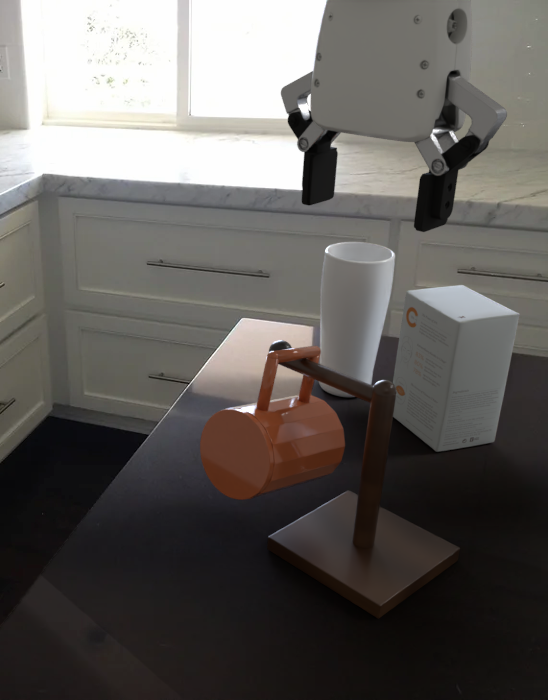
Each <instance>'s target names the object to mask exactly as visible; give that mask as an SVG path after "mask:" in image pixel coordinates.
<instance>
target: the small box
mask: <svg viewBox="0 0 548 700" xmlns="http://www.w3.org/2000/svg"><path fill="white" fill-rule="evenodd" d="M519 320H520V313H519V312H516V311H515V310H513V309H510V308H508V307H506V306H505V305H503V304H501V303H498V302H497V301H494V300H493V299H491V298H489V297H486V296H485V295H483V294H481V293H480V292H477V291H475V290H473V289H471V288H469V287H468V286H466V285H463V284H458V285H449V286H439V287H429V288H421V289H409V290H406V291H405V296H404V303H403V309H402V318H401V323H400V329H399V330H400V331H399V339H398V343H397V351H396V357H395V364H394V371H393V378H392V383H393V384H394V385H395V387H396V399H395V406H394V413H393V418H394V419H395V420H396V421H398V422H399V423H401V425H403V426H404V427H405V428H406V429H408V430H409V431H410V432H411V433H413V434H414V435H415V436H416V437H417V438H418V439H420V440H421V441H423V442H424V443H425V444H426V445H427V446H428V447H430V448H431V449H432V450H433V451H434V452H437V453H439V452H446V451H450V450H451V451H452V450H457V449H463V448H470V447H476V446H482V445H486V444H492V443H495V441H496V435H497V431H498V426H499V420H500V417H501V412H502V411H501V410H502V405H503V402H504V397H505V396H504V395H505V391H506V385H507V381H508V375H509V371H510V367H511V366H510V365H511V360H512V355H513V350H514V346H515V340H516V336H517V331H518V325H519Z"/></svg>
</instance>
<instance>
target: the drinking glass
mask: <svg viewBox="0 0 548 700" xmlns="http://www.w3.org/2000/svg"><path fill="white" fill-rule="evenodd" d="M323 255H324V257H323V263H322V270H321V280H320V294H319V296H320V298H319V300H320V301H319V302H320V303H319V304H320V305H319V307H320V308H319V310H320V311H319V327H320V328H319V348H320V349H321V354H320V358H319V364H321V365H323V366H326V367H328V368H331V369H333V370H336V371H338V372H341V373H343V374H346V375H348V376H350V377H353V378H355V379H358V380H360V381H363V382H365V383H368V384H370V385H372V383H373V376H374V375H373V374H374V370H375V364H376V362H377V361H376V360H377V355H378V351H379V347H380V342H381V338H382V334H383V329H384V326H385V322H386V316H387V313H388V308H389V304H390V301H391V295H392V290H393V283H394V275H395V263H396V253H395V252H394V250H392V249H391V248H388V247H386V246H384V245H381V244H376V243H370V242H365V241H364V242H363V241H343V242H337V243H336V242H335V243H333V244H330V245H328V246H327V247H326V248H325V250H324V254H323ZM318 384H319V385H318V386H319V387H320V388H321V389H322V390H323V391H325V393H328V394H330V395H332V396H335V397H340V398H356V397H355V396H353V395H350V394H348V393H346V392H343V391H341V390H338V389H336V388H334V387H331V386H329V385H327V384H324V383H322V382H319V381H318Z"/></svg>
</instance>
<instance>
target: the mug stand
mask: <svg viewBox="0 0 548 700" xmlns="http://www.w3.org/2000/svg"><path fill="white" fill-rule="evenodd" d="M285 349H293V347H292V345H291V344H290V343H289V342H288V341H287V340H283V339H278V340H276V341H273V342H272V343H271V345H270V346H269V348H268V353H269V352H271V351H277V350H285ZM278 366H282V367H284V368H287V369H289V370H292V371H294V372H296V373H298V374H301V375H302V376H303V375H305V376H308V377H310V378H312V379H315V380H314V381H318V383H319V382H322V383H324V384H327V385H329V386H331V387H334V388H336V389H338V390H341V391H343V392H346V393H348V394H350V395H353V396H355V397H354V398H358V399H360V400H362V401H365V402H367V403H369V410H368V418H367V425H366V434H365V439H364V440H365V441H364V447H363V448H364V449H363V456H362V463H361V470H360V477H359V485H358V492H357V494H356V493H355V492H353V491H351V490H346V491H345V492H343V493H341V494H340V495H338V496H336V497H335V498H333V499H331V500H329V501H328V502H325V503H324V504H321V506H319V507H317V508H315V509H313V510H312V511H310V512H308V513H307V514H305V515H302V516H301V517H300V518H298V519H296V520H294V521H293V522H291V523H289V524H288V525H286V526H284V527H283V528H281V529H279V530H277V531H276V532H274V533H272V534H270V535H268V537H267V546H266V549H267V550H268V551H269V552H271V553H273V554H274V555H276V556H277V557H279V558H280V559H282V560H283V561H285V562H286V563H289V564H290V565H292V566H293V567H294V568H296V569H298V570H300V571H301V572H303V573H305V574H306V575H307V576H309V577H310V578H312V579H313V580H315V581H317V582H318V583H320V584H322V585H323V586H325V587H327V588H328V589H330V590H332V591H333V592H334V593H336V594H337V595H339V596H341V597H343V598H344V599H346V600H347V601H349V602H350V603H352V604H354V605H356V606H357V607H358V608H360V609H362V610H364V611H365V612H367V614H370V615H371V616H373V618H376V619H381V618H382V617H383V616H385V615H386V614H387V613H389V612H390V611H391V610H392V609H394V608H395V607H397V606H398V605H399V604H401V603H402V602H403V601H405V600H406V599H408V598H409V597H410V596H411V595H413V594H415V593H416V592H417V591H418V590H420V589H422V587H424V586H425V585H427V584H428V583H430V582H431V581H432V580H433V579H435V578H436V577H438V576H439V575H441V574H442V573H443V572H444V571H446V570H447V569H448V568H450V567H452V565H454V564H455V563H456V562H458V561H459V557H460V552H461V548H460V547H459V546H457V545H456V544H453V543H451V542H449V541H447V540H446V539H444V538H442V537H440V536H438V535H437V534H434V533H432V532H430V531H428V530H426V529H424V528H422V527H420V526H419V525H416V524H414V523H412V522H411V521H409V520H407V519H405V518H403V517H401V516H399V515H397V514H395V513H393V512H391V510H390V511H389V510H388V509H385V508H384V507H382V506H381V500H382V494H383V487H384V479H385V472H386V468H387V467H386V466H387V460H388V453H389V447H390V446H389V445H390V438H391V432H392V426H393V420H394V419H393V418H394V417H393V413H394V406H395V399H396V387H395V385H394V384H393V381H390V380H388V379H381V380H378V381H376V382H375V383H374V384H373V385H372V384H371V385H370V384H368V383H365V382H363V381H360V380H358V379H355V378H353V377H350V376H348V375H346V374H343V373H341V372H338V371H336V370H333V369H331V368H328V367H326V366H323V365H321V364H320V363H316V362H313V361H311V360H308V359H301V360H294V361H288V362H281V363H278Z"/></svg>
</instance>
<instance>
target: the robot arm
mask: <svg viewBox="0 0 548 700" xmlns="http://www.w3.org/2000/svg"><path fill="white" fill-rule="evenodd" d="M472 11H473V10H472V0H325V4H324V7H323V12H322V16H321V19H320V24H319V31H318V34H317V35H318V36H317V42H316V47H315V53H314V60H313V66H312V67H313V68H312V71H310V72H307V74H304V75H302V76H300V77H299V78H297V79H296V80H294V81H292V82H290V83H288V84H286V85H284V86H283V87H282V88H281V89H280V96H281V100H282V103H283V107H284V109H285V112H286V114H287V115H288V116H287V125H288V126H289V128H290V130H291V132H293V134H294V136H295V137H296V139H297V141H296V147H297V148H298V150H299V152H302V153H303V165H302V179H301V188H302V191H301V204H302V205H304V206H308V207H309V206H312V205H317V204H319V203H323V202H327V201H330V200H332V199H333V198H334V197H335V188H336V177H337V168H338V155H339V152H338V147H334V146H332V144H333V143H334V141H335V140H336V139H337V138H338V137H339V136H340V134H349V135H355V136H361V137H367V138H373V139H374V138H375V139H382V140H389V141H394V142H395V141H396V142H404V143H414V145H415V146H416V148H417V149H418V151H419V154H420V155H421V157H422V159H423V160H424V162H425V164H426V166H427V168H428V171H427V172H424V173H422V174H421V176H419V182H418V190H417V198H416V205H415V213H414V219H413V220H414V221H413V228H414V229H415V231H417V232H421V233H426V232H429V231H431V230H434V229H437V228H440V227H443V226H445V225H446V224H447V223H448V220H449V218H450V217H451V215H452V213H453V210H454V204H455V195H456V190H457V183H458V177H459V170H462V169H465V168H466V167H467V166H468V164H469V163H470V162H471V161H472V160H474V159H475V158H476V157H478V156H479V155H481V153H483V152H484V151H485V150H486V149H487V148H488V147H489V145H490V141H491V139H493V138H494V136H495V135H496V134H497V132H498V130H499V129H500V128H501V127H502V125H503V124H504V122H505V120H507V117H508V111H507V109H506V108H505V107H504V106H503V105H501V104H499V103H498V102H497V101H496V100H494V99H493V98H492V97H490V96H489V95H487V94H486V93H484V92H483V91H482V90H480V89H479V88H478V87H476V86H474V85H473V84H472V83H470V82H471V72H472V71H471V70H472V55H473V53H472V52H473V14H472ZM309 96H310V109H309V103H308V97H309ZM466 116H468V117H470V121H471V124H470V126H469V128H468V129H467V130H468V131H467V132H466V134H465V136H463V137H461V138H460V139H458V137H457V135H456V132H458V131H460V130H461V129H462V128H463V125H464V124H465V120H466Z"/></svg>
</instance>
